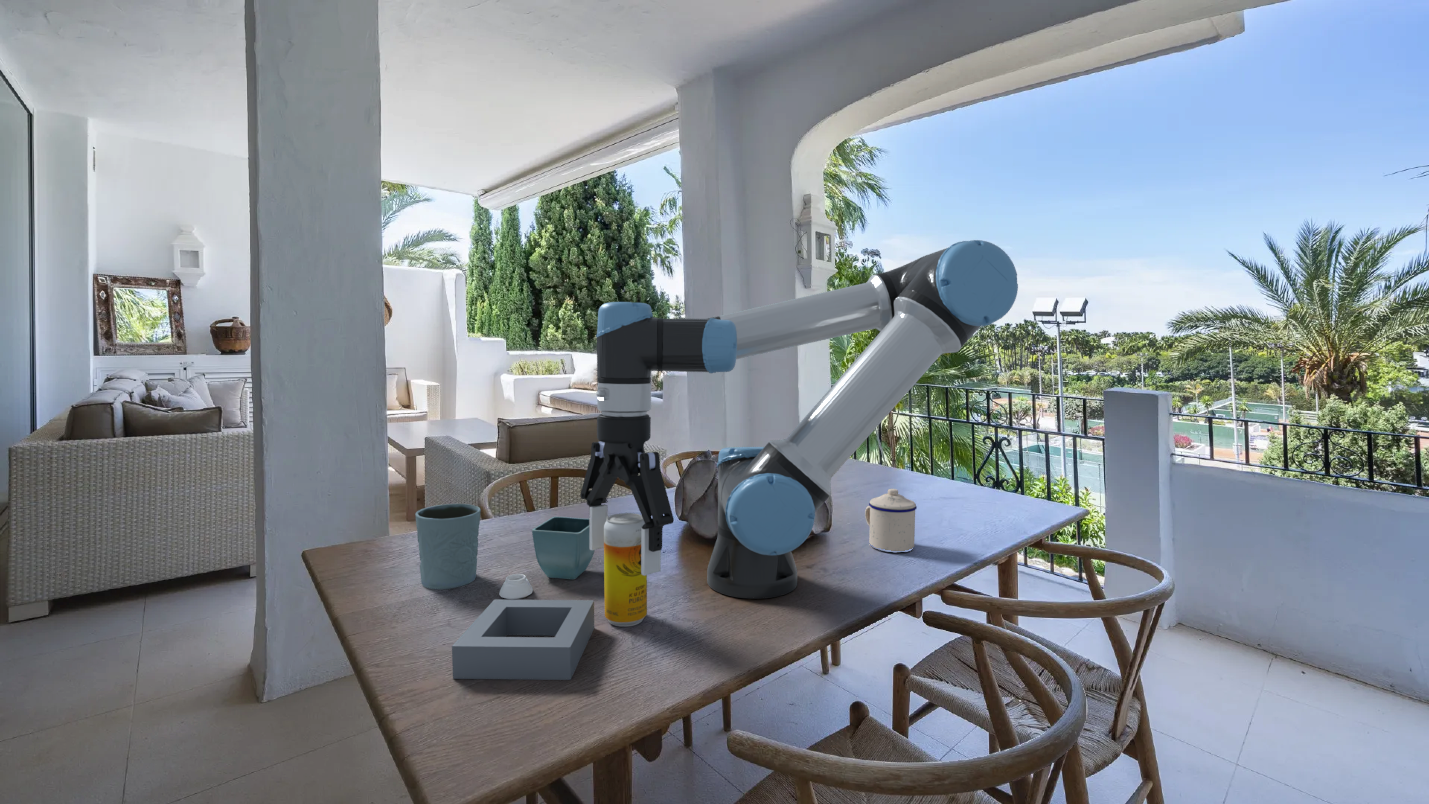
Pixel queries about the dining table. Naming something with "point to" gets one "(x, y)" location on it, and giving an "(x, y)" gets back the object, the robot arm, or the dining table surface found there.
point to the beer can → (624, 570)
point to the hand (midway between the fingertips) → (623, 560)
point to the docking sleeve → (525, 640)
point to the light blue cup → (448, 544)
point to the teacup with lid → (891, 521)
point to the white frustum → (516, 587)
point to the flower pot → (563, 547)
